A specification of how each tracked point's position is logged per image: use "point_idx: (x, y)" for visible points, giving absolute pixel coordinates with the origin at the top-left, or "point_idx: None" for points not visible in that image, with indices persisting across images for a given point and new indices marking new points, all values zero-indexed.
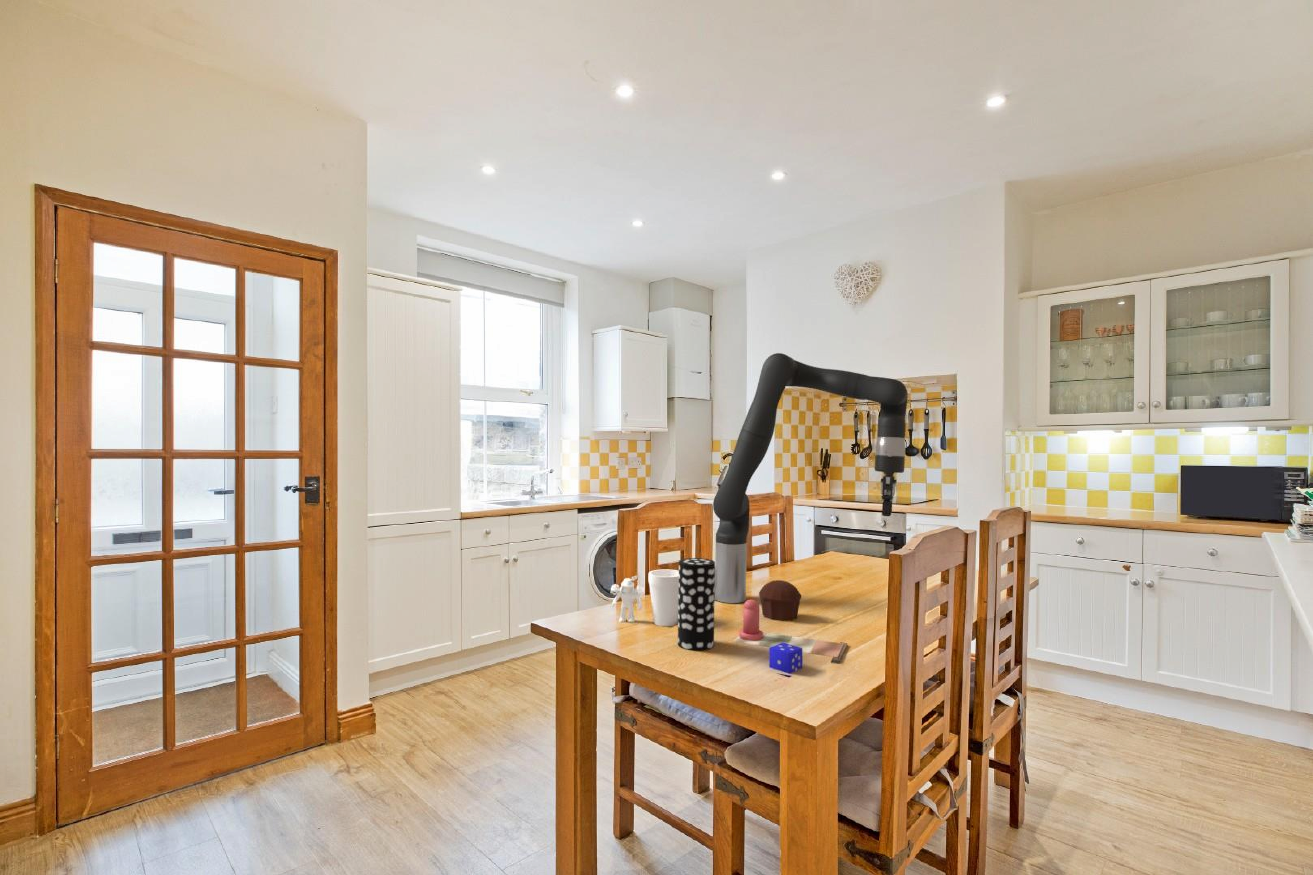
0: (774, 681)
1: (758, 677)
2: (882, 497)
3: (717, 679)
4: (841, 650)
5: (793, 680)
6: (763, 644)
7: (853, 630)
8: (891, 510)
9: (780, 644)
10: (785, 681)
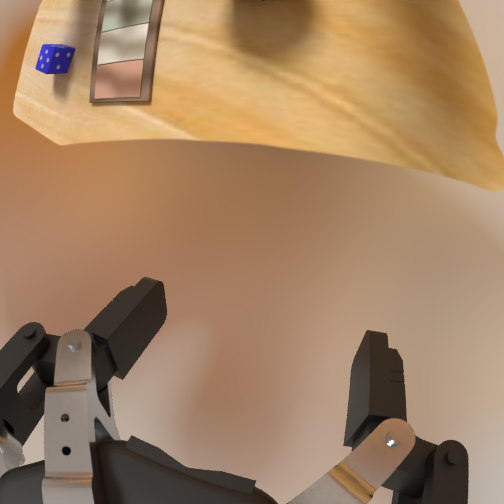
0: None
1: None
2: (25, 328)
3: (43, 19)
4: (119, 97)
5: None
6: (110, 5)
7: (233, 103)
8: (351, 380)
9: (49, 49)
10: None
